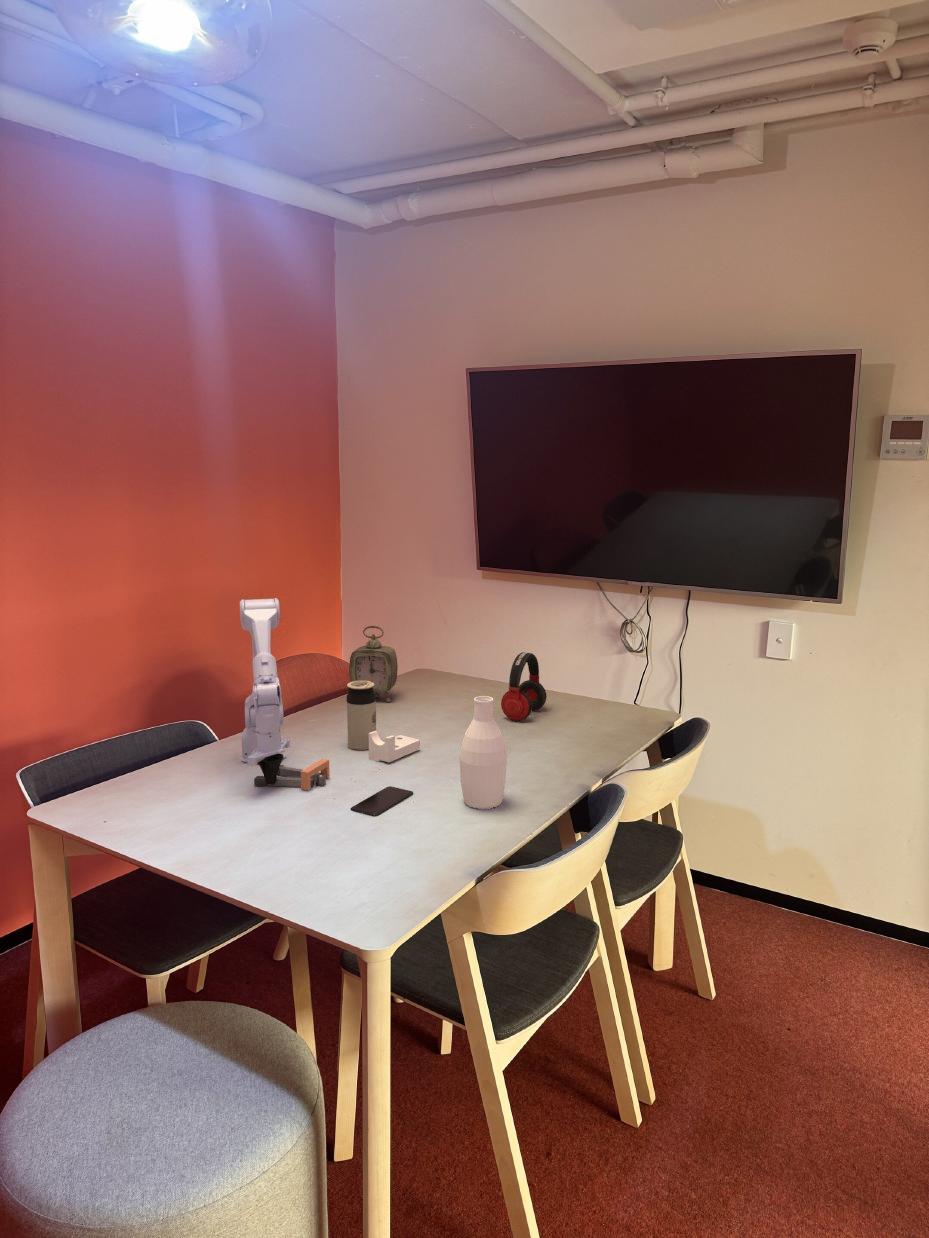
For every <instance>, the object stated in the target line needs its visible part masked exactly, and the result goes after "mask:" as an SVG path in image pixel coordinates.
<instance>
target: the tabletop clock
mask: <svg viewBox="0 0 929 1238" xmlns="http://www.w3.org/2000/svg"><path fill="white" fill-rule="evenodd" d="M368 629H377V630H380V631H381V632H382V634H380V635H377V636H376V634H374V633H373V634H371V636H370V635H367V634H366V630H368ZM384 632H385V631H384V629H383V628H381V627H380V626H376V625H368V626H366V627H365V628H364V629H363V630H362V634H363V636H365V637H366V638H368V639H369V640H367V642H366V643H365V645H362V646H359V647H357V648H356V649H354V650H353V651H352V652H351V654H350V657H349V666H348V667H349V681H350V682H353V681H370V682H373V683H374V687H373V691H374V693H375V695H376V699H377V698H378V697H380V695H379V694H383V693H384V695H385V697H386V699H385V701H386V703H390V702H391V701H392V699H391V697H390V696H389V695H388V692H390V691H391V690H392V688H394V687H395V685H396V683H397V679H398V667H399V666H398V665H399V664H398V656H397V653H396V650H395V648H393V647H390V646H386V645H383V644H382V642H381V641H380V640H379V639H381V638H383V636H384V634H385V633H384ZM350 682H349V683H350Z"/></svg>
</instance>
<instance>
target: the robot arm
mask: <svg viewBox="0 0 929 1238" xmlns="http://www.w3.org/2000/svg"><path fill="white" fill-rule="evenodd" d="M280 614H281V612H280V601H279V599H278V598H277V597H274V598H261V599H259V598H258V599H241V600H240V601H239V616H240V617H239V618H240V619H239V620H240V626H241V627H242V630H245V631H248V632H249V634H250V636H251V642H252V662H251V663H252V664H251V665H252V675H253V685H252V693H251V694H249V695H248V697H246V699H245V701H244V721H245V728H244V729H243V731H242V734H241V753H242V754H241V757H242V758H241V759H240V761H241V762H244V763H247V765H248V766H253V767H255V766H256V765H258V766H259V768H260V770H261V771H262V772H261V773H262V774H263V775H262V776H264V778H265V781H266V784H271V785H274V784H275V782H276V778H277V777H278V776H277V773H278V769H279V766H280V765H282V762H283V760H284V759H285V758H287V755H286V754H283V753H285V752H286V751H285V748H286V749H289V748H290V747H291V740H290V739H289V738H282V735H281V734H282V733H281V731H282V730H281V727H282V726H283V725H284V722H285V721H284V706H283V699H282V688H281V687H282V686H281V683H280V679H279V677H278V667H277V659H276V657H275V656H274V655H273V654H272V653H271V640H272V639H271V634H272V632H271V630H274V629H276V628H278V626H279V623H280V618H281V615H280Z"/></svg>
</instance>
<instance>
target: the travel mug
mask: <svg viewBox="0 0 929 1238" xmlns="http://www.w3.org/2000/svg"><path fill="white" fill-rule="evenodd" d="M346 685H347V687H348V693H347V694H346V719H347V723H346V724H347V745H348V746H347V747H348V748H350V749H351V750H355V751H367V750H368V751H369V734H368V733H370V732H373V731H377V708H376V707H377V706H376V705H377V704H376V703H377V702H376V699H377V698H376V695H375V693H374V691H373V687H374V683H373V682H370V681H353V682H348V683H347V684H346Z"/></svg>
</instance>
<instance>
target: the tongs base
mask: <svg viewBox="0 0 929 1238" xmlns="http://www.w3.org/2000/svg"><path fill="white" fill-rule="evenodd" d="M302 770H303V769H301V768H295V767H290V766H289V767H288V766H285V765H283V764H280V766H279V769H278V773H277V777H292V778H301V771H302ZM310 778H314V783H315V786H316V787H320V788H321V787H325V786H326V785H327V778H326V774H325V773H321V772H320V771H319V772H318V773H316V774H315V775H313V776H311V777H310Z"/></svg>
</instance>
